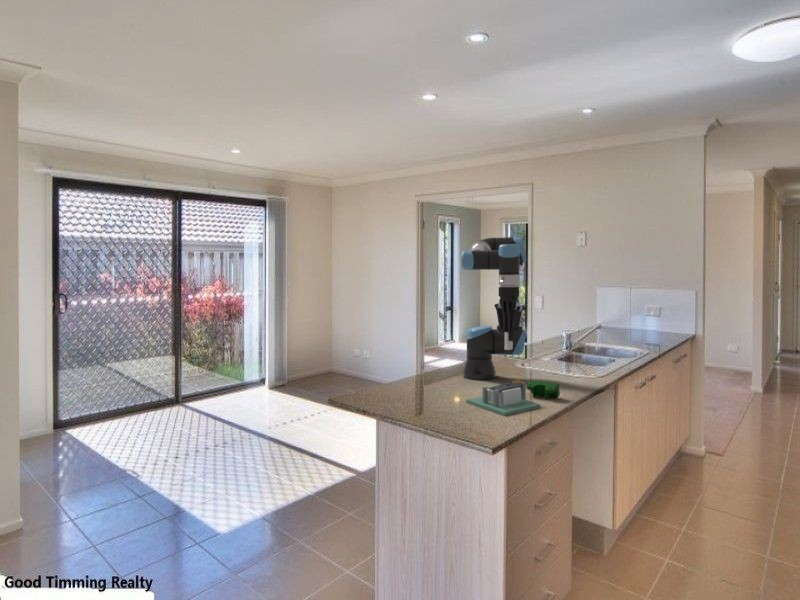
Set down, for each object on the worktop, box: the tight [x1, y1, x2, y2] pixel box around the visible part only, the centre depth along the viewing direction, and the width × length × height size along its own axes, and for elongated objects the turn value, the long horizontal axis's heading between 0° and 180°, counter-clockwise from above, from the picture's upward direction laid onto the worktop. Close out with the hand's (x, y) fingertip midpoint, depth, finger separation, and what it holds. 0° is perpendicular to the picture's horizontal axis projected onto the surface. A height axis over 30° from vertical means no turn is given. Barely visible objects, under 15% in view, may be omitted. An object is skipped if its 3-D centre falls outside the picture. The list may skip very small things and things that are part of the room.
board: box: [465, 381, 541, 417], centre depth 186 cm, size 18×20×8 cm
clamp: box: [526, 379, 561, 401], centre depth 196 cm, size 12×6×9 cm, turn 42°
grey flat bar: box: [488, 379, 522, 392], centre depth 186 cm, size 14×4×2 cm, turn 123°
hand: (508, 349), depth 187 cm, fingers closed
